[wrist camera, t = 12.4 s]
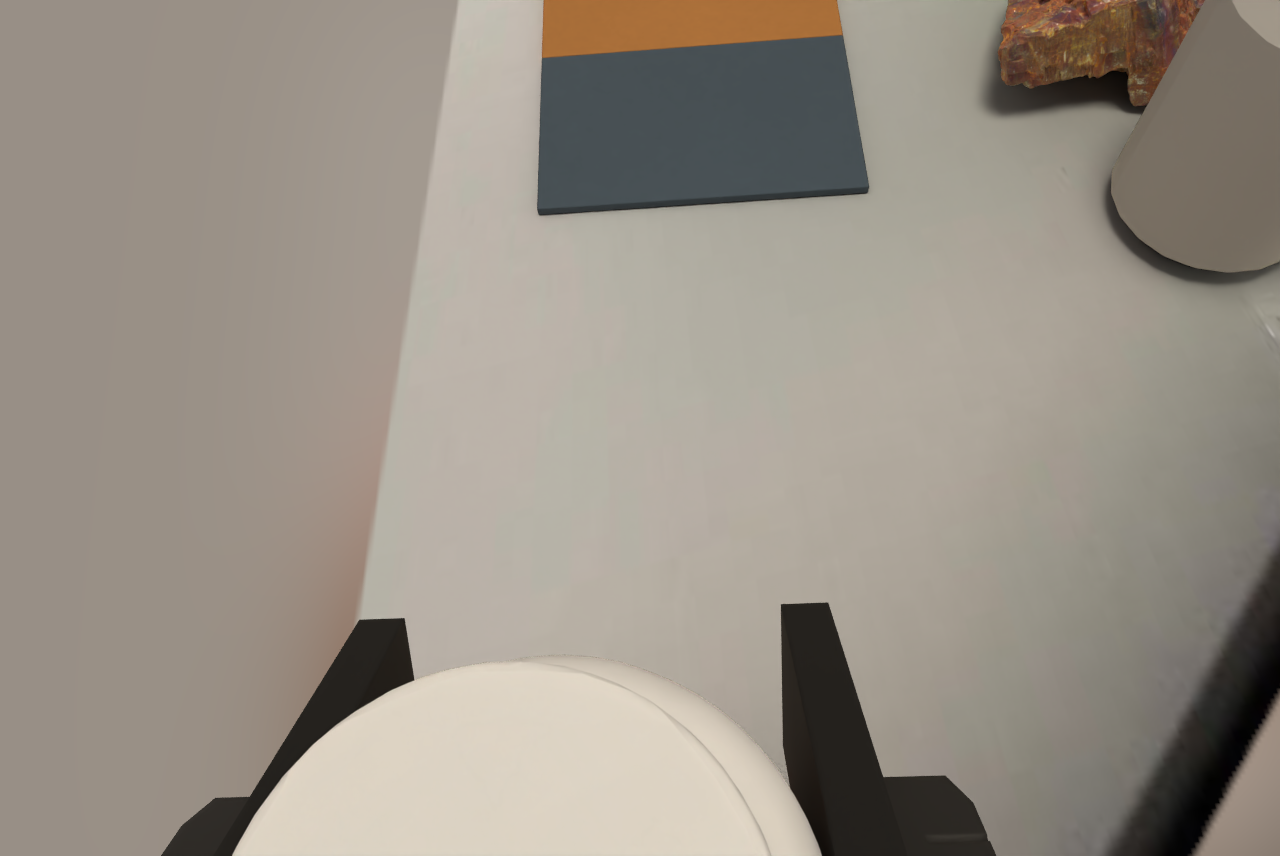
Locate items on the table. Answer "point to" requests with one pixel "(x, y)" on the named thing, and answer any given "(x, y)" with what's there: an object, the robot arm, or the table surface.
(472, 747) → the pill bottle
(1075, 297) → the table surface
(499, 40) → the table surface
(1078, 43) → the mineral specimen
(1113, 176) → the can
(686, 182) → the board
